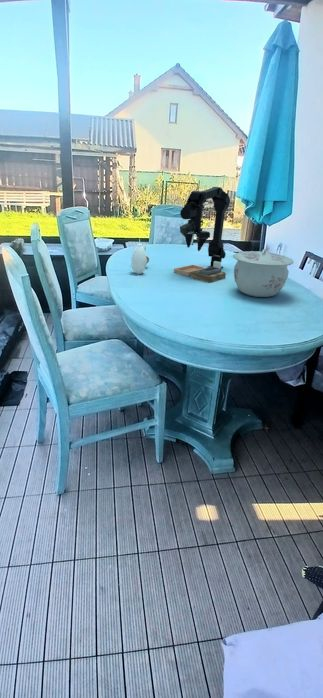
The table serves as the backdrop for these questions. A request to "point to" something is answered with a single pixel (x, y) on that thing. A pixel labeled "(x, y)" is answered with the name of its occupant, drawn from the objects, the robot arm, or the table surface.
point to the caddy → (212, 269)
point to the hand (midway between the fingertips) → (193, 249)
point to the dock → (208, 278)
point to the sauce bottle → (139, 259)
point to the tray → (187, 270)
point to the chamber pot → (261, 272)
